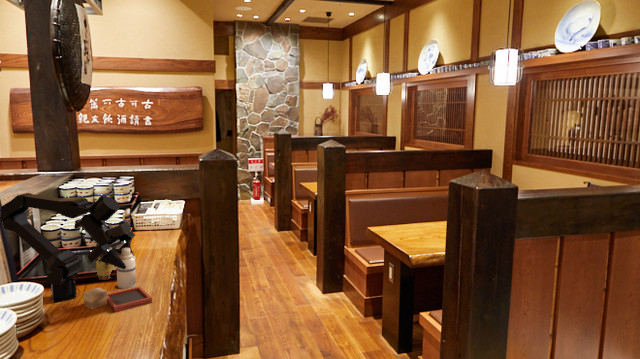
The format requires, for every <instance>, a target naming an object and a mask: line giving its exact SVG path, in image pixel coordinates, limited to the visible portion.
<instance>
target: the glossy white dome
mask: <svg viewBox="0 0 640 359" xmlns="http://www.w3.org/2000/svg"><path fill="white" fill-rule="evenodd" d="M117 287H118V289H124V290H127V289H131V288H135V287H137V283H136V284H135V285H133V286H130V287H119V286H117Z"/></svg>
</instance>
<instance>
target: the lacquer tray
mask: <svg viewBox="0 0 640 359" xmlns="http://www.w3.org/2000/svg"><path fill="white" fill-rule="evenodd" d="M152 303H153V297H152V296H151V295H149V293H147V291H145V289H143V287H141V286H135V287H132V288H127V289H124V290H120V291H116V292H111V293H107V305H108V306H109V307H110V308H111V310H112V311H113V312H114V313H118V312H121V311H122V312H123V311H125V310H130V309H133V308H136V307H141V306H145V305H149V304H152Z"/></svg>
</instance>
